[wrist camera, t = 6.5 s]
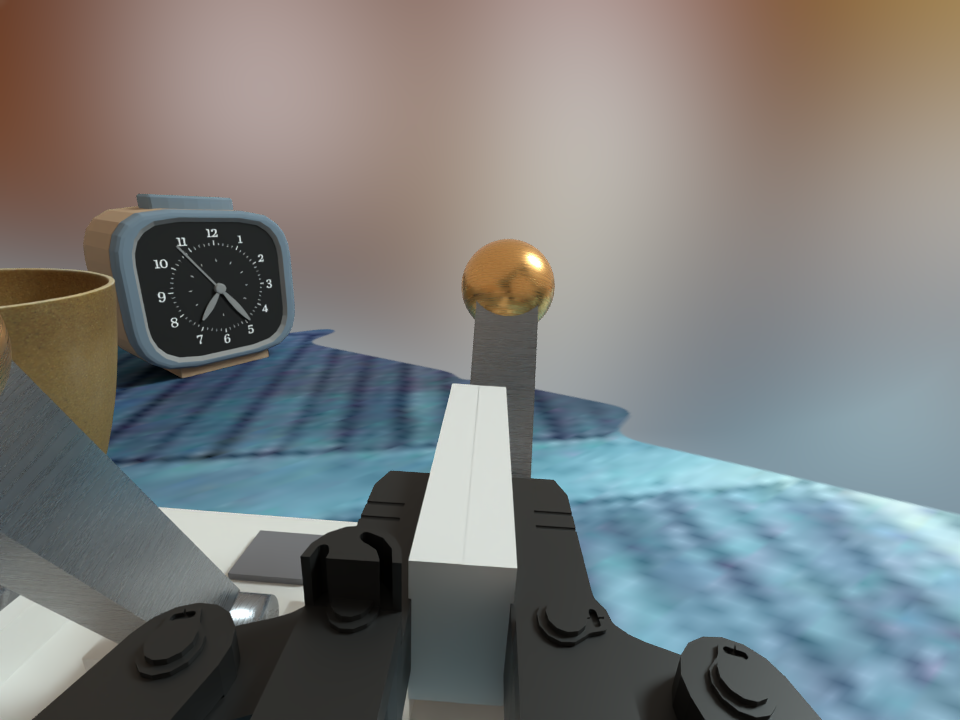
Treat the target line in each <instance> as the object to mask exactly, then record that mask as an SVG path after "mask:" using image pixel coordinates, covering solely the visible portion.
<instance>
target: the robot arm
mask: <svg viewBox="0 0 960 720" xmlns="http://www.w3.org/2000/svg"><path fill="white" fill-rule="evenodd" d="M300 559H301V569H302V580H303V590H304V601H305V606H304V607H302V608H300V609H298V610H296V611H294V612H292V613H288V614H285V615H282V616H278V617H275V618H270V619H266V620H261V621H256V622H251V623H247V624H242V625H237V626H235V624H234V621H233V619H232V616H231V613H230V612H228V611H227V610H225V609H224V608H222V607H221V606H219V605H217V604H208V603H195V604H189V605H184V606H179V607H176V608H173V609H171V610H169V611H167V612H164V613H162V614H160V615H158V616H155V617H153V618H152V619H150V620H149V621H147V622H146V623H145V624H143V625H142V626H140V627H139V628H138V629H136V630H135V631H133V632H132V633H131V634H129V635H128V636H127V637H126V638H125V639H124V640H123V641H121V642H120V643H119V644H118V645H117V646H116V647H115V648H113V649H112V650H111V651H110V652H109V653H108V654H107V655H105V656H104V657H103V658H102V659H101V660H100V661H98V662H97V663H96V664H95V665H94V666H93V667H92V668H90V669H89V670H88V671H87V672H86V673H85V674H84V675H82V676H81V677H80V678H79V679H78V680H77V681H76V682H74V683H73V684H72V685H71V686H70V687H69V688H67V689H66V690H65V691H64V692H63V693H62V694H61V695H59V696H58V697H57V698H56V699H55V700H54V701H53V702H51V703H50V704H49V705H48V706H47V707H46V708H45V709H43V710H42V711H41V712H40V713H39V714H38V715H37V716H35V717H34V718H33V719H32V720H402V716H403V710H404V705H405V699H406V694H407V689H408V699H416V700H429V701H443V702H455V703H466V704H480V705H494V706H503V702H504V720H822V719H821V718H820V717H819V716H818V715H817V713H816V712H815V711H814V710H813V709H812V708H811V706H810V705H809V704H808V703H807V702H806V701H805V699H804V698H803V697H802V696H801V695H800V693H799V692H798V691H797V690H796V689H795V688H794V686H793V685H792V684H791V683H790V682H789V681H788V679H787V678H786V677H785V676H784V675H783V674H782V673H781V672H780V671H778V670H777V669H776V668H775V667H774V666H773V665H772V664H771V663H770V662H769V661H768V660H767V659H766V658H764V657H762V656H761V655H759V654H758V653H756V652H754V651H753V650H751V649H750V648H748V647H746V646H745V645H743V644H740V643H737V642H734V641H731V640H728V639H725V638H722V637H701V638H699V639H696V640H694V641H692V642H689V643H688V644H687V646H686V648H685V649H684V651H683V653H682V654H681V655H679V654H677V653H674V652H671V651H668V650H666V649H663V648H660V647H657V646H655V645H652V644H649V643H646V642H644V641H641V640H639V639H637V638H635V637H633V636H631V635H629V634H627V633H626V632H624V631H623V630H621V629H620V628H618V627H617V626H615V625H614V624H613V623H612V621H611V619H610V617H609V615H608V613H607V611H606V610H605V609H604V608H603V607H602V606H601V605H600V604H599V603H598V602H597V601H596V600H595V599H594V597H593V594H592V591H591V587H590V583H589V579H588V576H587V572H586V568H585V564H584V560H583V556H582V552H581V548H580V544H579V540H578V536H577V532H575V524H574V520H573V516H572V512H571V508H570V504H569V500H568V496H567V494H566V493H565V492H564V491H563V490H562V489H561V488H560V486H559V485H558V484H557V483H556V482H555V481H554V480H547V479H532V478H517V477H512V475H511V459H510V443H509V426H508V410H507V394H506V387H496V386H480V385H465V384H452V388H451V392H450V396H449V400H448V404H447V408H446V412H445V416H444V420H443V424H442V428H441V432H440V436H439V440H438V444H437V448H436V452H435V456H434V460H433V464H432V468H431V472H430V473H418V472H403V471H390V472H388V473H387V474H386V475H385V476H384V477H383V478H381V479H380V480H379V481H378V482H377V483H376V484H375V485H374V487H373V490H372V492H371V494H370V496H369V499H368V501H367V504H366V505H365V508H364V510H363V512H362V514H361V519H359V521H358V524H357V526H348V527H344V528H340V529H337V530H334V531H331V532H328V533H326V534H325V535H323V536H322V537H320V538H318V539H317V540H315V541H314V542H312V543H311V544H310V545H309V547H308V548H307V549H306V550H305V551H304V553H303V554H302V555H301V556H300Z"/></svg>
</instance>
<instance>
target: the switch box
mask: <svg viewBox="0 0 960 720" xmlns="http://www.w3.org/2000/svg"><path fill="white" fill-rule="evenodd" d="M158 508H159V509H160V510H161V511H162V512H163V513H164V514H165V515H166V516H167V517H168V518H169V519H170V520H171V521H172V522H173V523H174V524H175V525H176V526H177V527H178V528H179V529H180V530H181V531H182V532H183V533H184V534H185V535H186V536H187V537H188V538H189V539H190V540H191V541H192V542H193V543H194V544H195V545H196V546H197V547H198V548H199V549H200V550H201V551H202V552H203V553H204V554H205V555H206V556H207V557H208V558H209V559H210V560H211V561H212V562H213V563H214V564H215V565H216V566H217V567H218V568H219V569H220V570H221V571H222V572H223V573H224V574H225V575H226V576H227V577H228V578H229V579H230V580H231V581H232V582H233V583H234V584H235V585H236V586H237V587H238V588H239V589H240V592H250V593H262V594H273V595H275V596H276V598H277V600H278V604H279V616H282V615H285V614H288V613H292V612H294V611H296V610H298V609H300V608H302V607H304V606H305V601H304V590H303V580H302V569H301V559H300V556H301V555H302V554H303V553H304V551H305V550H306V549H307V548H308V547H309V545H310V544H311V543H312V542H314V541H315V540H317V539H318V538H320V537H322V536H323V535H325V534H326V533H328V532H331V531H334V530H337V529H340V528H344V527H348V526H357V524H358V523H357V522H344V521H330V520H317V519H304V518H291V517H278V516H265V515H252V514H239V513H226V512H213V511H199V510H186V509H173V508H160V507H158ZM117 645H118V644H117V643H115V642H113V641H111V640H109V639H107V638H105V637H103V636H101V635H99V634H97V633H95V632H93V631H91V630H89V629H87V628H85V627H83V626H81V625H79V624H77V623H75V622H73V621H71V620H69V619H67V618H65V617H63V616H61V615H59V614H57V613H55V612H53V611H51V610H49V609H47V608H45V607H43V606H41V605H39V604H37V603H35V602H33V601H31V600H29V599H27V598H25V597H23V596H21V595H20V596H19V597H17V598H16V599H15V600H14V601H12V602H11V603H10V604H9V605H7V606H6V607H5V608H4V609H2V610H1V611H0V720H32V719H33V718H34V717H35V716H37V715H38V714H39V713H40V712H41V711H42V710H43V709H45V708H46V707H47V706H48V705H49V704H50V703H51V702H53V701H54V700H55V699H56V698H57V697H58V696H59V695H61V694H62V693H63V692H64V691H65V690H66V689H67V688H69V687H70V686H71V685H72V684H73V683H74V682H76V681H77V680H78V679H79V678H80V677H81V676H82V675H84V674H85V673H86V672H87V671H88V670H89V669H90V668H92V667H93V666H94V665H95V664H96V663H97V662H98V661H100V660H101V659H102V658H103V657H104V656H105V655H107V654H108V653H109V652H110V651H111V650H112V649H113V648H115V647H116V646H117ZM402 720H504V703H503V706H494V705H480V704H466V703H455V702H443V701H429V700H416V699H408V689H407V694H406V699H405V705H404V710H403V716H402Z"/></svg>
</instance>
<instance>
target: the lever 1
mask: <svg viewBox="0 0 960 720" xmlns="http://www.w3.org/2000/svg"><path fill="white" fill-rule="evenodd" d="M19 596H20V595H19V594H17V593H15V592H13V591H11V590H9V589H7V588H5V587H3V586H1V585H0V611H1V610H2V609H4V608H5V607H6V606H7V605H9V604H10V603H11V602H12V601H14V600H15V599H16V598H17V597H19Z"/></svg>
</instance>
